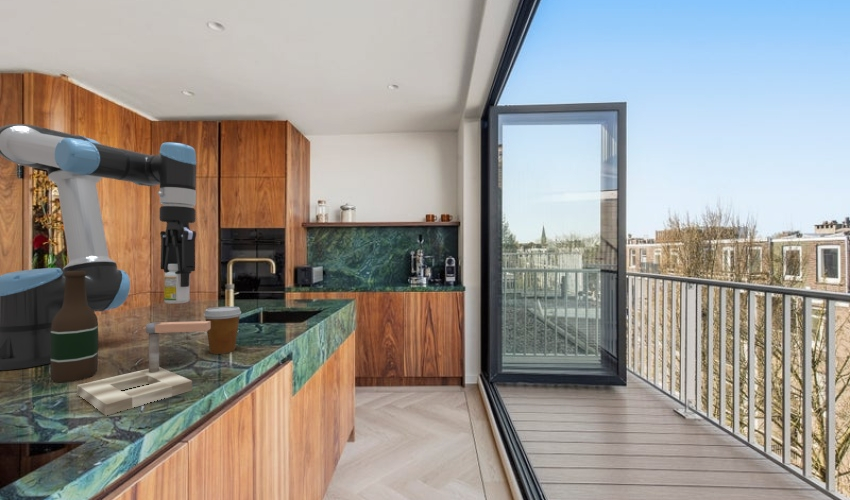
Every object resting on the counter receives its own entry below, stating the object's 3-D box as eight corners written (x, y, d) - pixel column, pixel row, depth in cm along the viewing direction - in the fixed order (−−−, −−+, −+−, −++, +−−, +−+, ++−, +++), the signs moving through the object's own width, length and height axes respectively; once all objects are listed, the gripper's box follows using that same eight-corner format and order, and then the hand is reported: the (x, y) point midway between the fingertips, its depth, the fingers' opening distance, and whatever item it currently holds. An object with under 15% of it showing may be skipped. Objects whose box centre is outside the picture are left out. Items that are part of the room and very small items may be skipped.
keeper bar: (143, 333, 80) (143, 325, 80) (150, 330, 83) (150, 322, 83) (206, 331, 83) (206, 323, 83) (210, 328, 85) (210, 320, 85)
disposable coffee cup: (224, 356, 100) (225, 312, 100) (194, 354, 102) (195, 310, 102) (248, 347, 109) (248, 307, 109) (220, 345, 111) (220, 305, 111)
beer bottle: (100, 376, 84) (100, 271, 84) (51, 385, 78) (51, 272, 78) (95, 368, 89) (96, 269, 89) (49, 376, 83) (50, 270, 83)
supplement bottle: (176, 304, 90) (176, 264, 89) (158, 303, 91) (158, 264, 91) (194, 301, 95) (195, 263, 95) (177, 300, 96) (178, 263, 96)
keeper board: (77, 395, 73) (77, 342, 73) (158, 375, 85) (158, 329, 85) (106, 415, 65) (106, 356, 65) (192, 390, 76) (192, 339, 76)
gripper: (144, 206, 94) (144, 297, 95) (178, 203, 84) (177, 304, 85) (177, 209, 101) (176, 294, 101) (212, 206, 91) (211, 300, 91)
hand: (177, 298), depth 93 cm, fingers closed on supplement bottle, 5 cm apart
